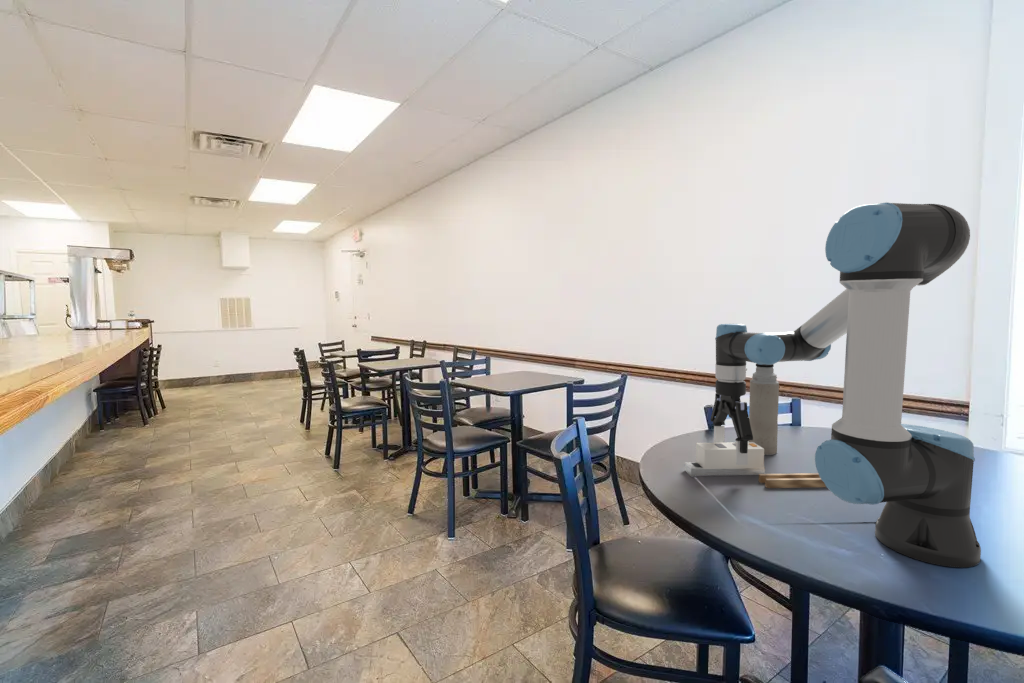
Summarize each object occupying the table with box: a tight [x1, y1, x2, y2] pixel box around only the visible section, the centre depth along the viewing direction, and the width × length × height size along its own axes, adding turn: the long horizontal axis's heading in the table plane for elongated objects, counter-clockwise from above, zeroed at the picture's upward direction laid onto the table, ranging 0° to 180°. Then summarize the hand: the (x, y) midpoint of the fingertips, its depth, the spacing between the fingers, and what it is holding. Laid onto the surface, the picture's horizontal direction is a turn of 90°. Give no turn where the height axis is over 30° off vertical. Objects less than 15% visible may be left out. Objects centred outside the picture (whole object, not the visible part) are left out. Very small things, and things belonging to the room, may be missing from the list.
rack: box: [758, 472, 827, 489], centre depth 117 cm, size 16×4×2 cm, turn 89°
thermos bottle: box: [748, 363, 780, 456], centre depth 143 cm, size 8×8×28 cm
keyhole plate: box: [684, 461, 766, 478], centre depth 127 cm, size 5×20×2 cm, turn 89°
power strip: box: [695, 441, 765, 469], centre depth 126 cm, size 16×6×8 cm, turn 89°
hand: (729, 455), depth 126 cm, fingers open, 13 cm apart
